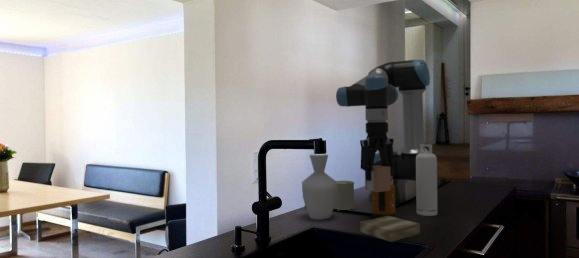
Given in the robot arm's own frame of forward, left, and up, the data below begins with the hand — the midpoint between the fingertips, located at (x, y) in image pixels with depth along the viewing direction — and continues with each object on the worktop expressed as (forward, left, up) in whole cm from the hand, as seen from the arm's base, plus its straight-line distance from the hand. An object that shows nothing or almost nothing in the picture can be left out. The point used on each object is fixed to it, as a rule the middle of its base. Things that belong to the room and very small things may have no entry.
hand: (377, 188), depth 135 cm
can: (-35, +15, -15) cm, 41 cm away
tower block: (0, 0, 0) cm, 0 cm away
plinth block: (+3, +2, -15) cm, 16 cm away
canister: (-12, +15, -15) cm, 25 cm away
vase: (-29, -3, -15) cm, 33 cm away
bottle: (-7, +35, -15) cm, 39 cm away
